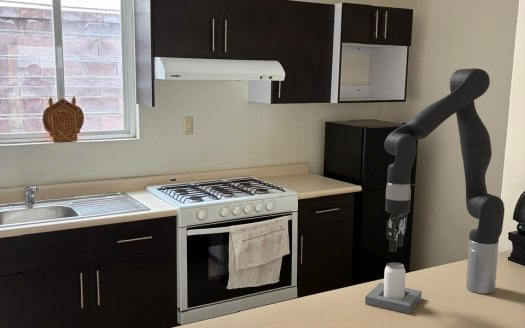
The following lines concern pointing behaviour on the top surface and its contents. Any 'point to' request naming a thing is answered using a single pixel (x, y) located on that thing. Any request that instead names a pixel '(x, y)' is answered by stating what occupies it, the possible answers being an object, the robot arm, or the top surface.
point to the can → (394, 281)
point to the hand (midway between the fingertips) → (395, 248)
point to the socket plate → (403, 305)
